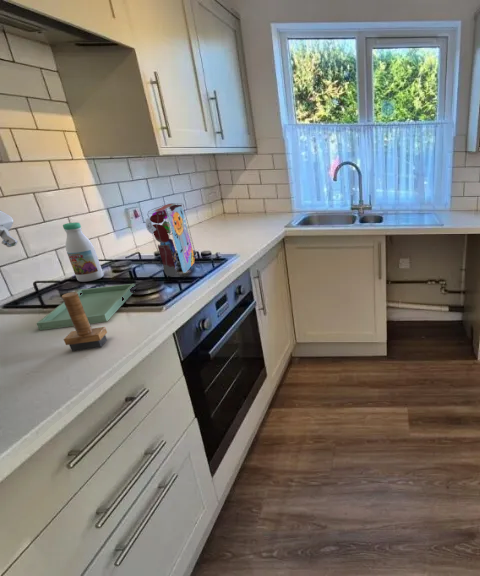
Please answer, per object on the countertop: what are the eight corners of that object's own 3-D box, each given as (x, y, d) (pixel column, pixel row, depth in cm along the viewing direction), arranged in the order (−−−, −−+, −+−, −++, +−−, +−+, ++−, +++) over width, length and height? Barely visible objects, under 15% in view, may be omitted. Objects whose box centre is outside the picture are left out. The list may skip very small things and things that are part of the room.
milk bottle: (85, 275, 133) (65, 221, 125) (108, 273, 134) (90, 220, 126) (72, 283, 126) (50, 226, 118) (97, 281, 127) (77, 225, 119)
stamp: (68, 352, 85) (46, 300, 79) (77, 343, 88) (56, 293, 83) (103, 347, 86) (83, 295, 81) (110, 339, 90) (91, 289, 84)
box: (174, 290, 118) (154, 216, 108) (154, 292, 117) (132, 217, 107) (198, 265, 140) (183, 202, 131) (182, 266, 140) (165, 203, 130)
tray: (39, 330, 95) (35, 323, 94) (81, 295, 116) (79, 289, 115) (107, 321, 99) (104, 314, 98) (136, 289, 120) (134, 283, 119)
